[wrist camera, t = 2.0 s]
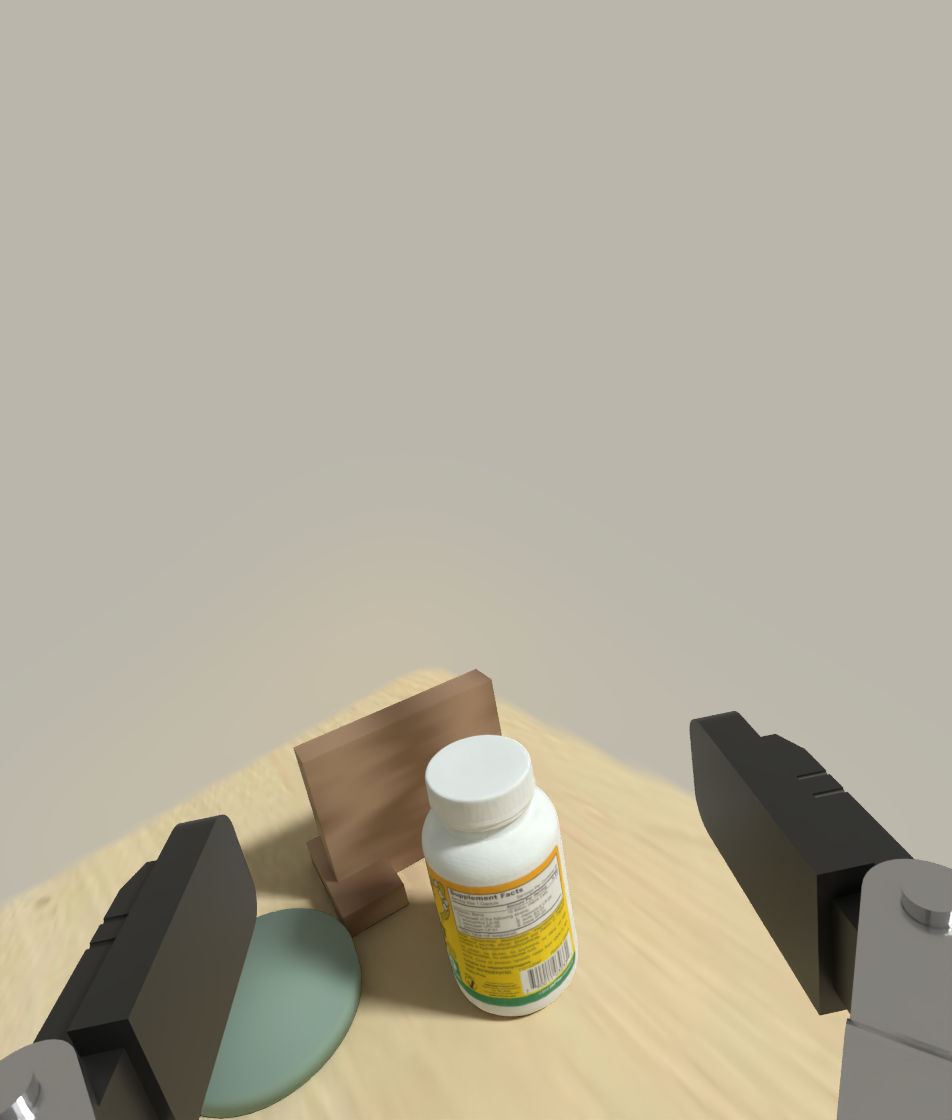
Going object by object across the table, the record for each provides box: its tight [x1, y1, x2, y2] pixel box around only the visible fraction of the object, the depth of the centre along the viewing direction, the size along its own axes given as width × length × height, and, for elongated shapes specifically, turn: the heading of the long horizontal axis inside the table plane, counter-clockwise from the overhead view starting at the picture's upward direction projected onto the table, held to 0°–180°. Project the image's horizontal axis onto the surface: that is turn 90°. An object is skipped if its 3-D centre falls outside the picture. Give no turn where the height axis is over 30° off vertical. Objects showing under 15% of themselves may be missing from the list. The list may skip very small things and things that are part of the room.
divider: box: [294, 669, 502, 937], centre depth 33 cm, size 11×6×8 cm, turn 120°
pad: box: [200, 909, 362, 1118], centre depth 27 cm, size 8×8×1 cm
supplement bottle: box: [422, 735, 578, 1016], centre depth 26 cm, size 5×5×10 cm
